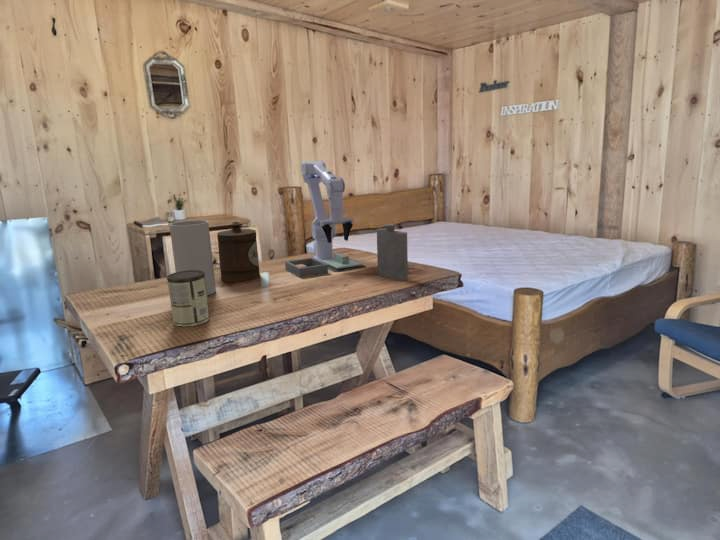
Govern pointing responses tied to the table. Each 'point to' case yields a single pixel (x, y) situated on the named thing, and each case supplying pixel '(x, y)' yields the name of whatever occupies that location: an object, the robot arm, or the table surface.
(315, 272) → the storage box
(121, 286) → the table surface
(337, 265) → the lid
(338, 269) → the mat
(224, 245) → the wooden container
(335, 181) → the robot arm
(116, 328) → the table surface
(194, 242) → the cylinder vase
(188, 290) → the coffee can
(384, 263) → the hip flask
